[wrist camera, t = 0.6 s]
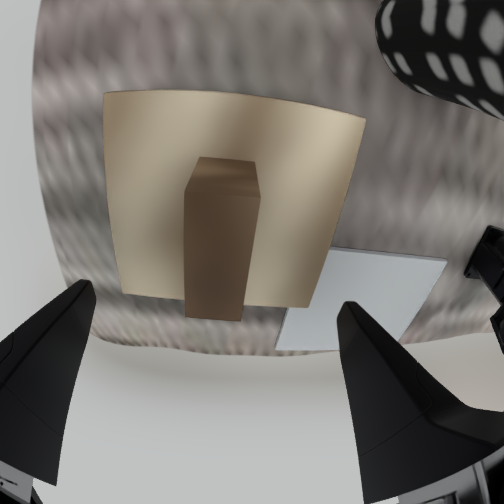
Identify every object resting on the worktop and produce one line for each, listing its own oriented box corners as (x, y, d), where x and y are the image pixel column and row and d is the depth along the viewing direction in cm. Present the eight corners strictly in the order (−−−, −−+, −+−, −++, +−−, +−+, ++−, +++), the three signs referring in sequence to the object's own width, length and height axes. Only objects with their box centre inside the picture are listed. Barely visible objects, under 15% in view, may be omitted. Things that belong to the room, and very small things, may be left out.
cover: (359, 116, 12) (410, 140, 8) (305, 299, 19) (320, 358, 15) (110, 91, 11) (55, 106, 7) (126, 284, 17) (104, 342, 14)
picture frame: (444, 258, 23) (447, 261, 23) (392, 343, 31) (393, 346, 30) (305, 244, 22) (307, 247, 21) (274, 346, 29) (275, 350, 29)
